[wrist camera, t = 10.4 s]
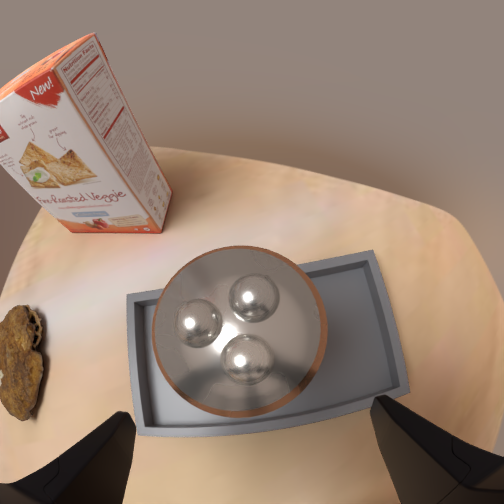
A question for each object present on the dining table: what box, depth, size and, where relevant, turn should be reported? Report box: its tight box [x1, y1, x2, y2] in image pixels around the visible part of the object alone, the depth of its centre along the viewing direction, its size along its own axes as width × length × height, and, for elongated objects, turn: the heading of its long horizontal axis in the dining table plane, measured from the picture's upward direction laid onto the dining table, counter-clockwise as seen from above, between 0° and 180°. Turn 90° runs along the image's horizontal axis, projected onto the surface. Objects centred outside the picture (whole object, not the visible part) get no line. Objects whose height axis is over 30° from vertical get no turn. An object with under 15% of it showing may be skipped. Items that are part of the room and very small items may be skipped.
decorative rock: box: [0, 305, 43, 421], centre depth 21 cm, size 11×4×15 cm
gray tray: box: [127, 250, 410, 437], centre depth 21 cm, size 13×22×2 cm, turn 99°
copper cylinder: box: [152, 246, 328, 418], centre depth 15 cm, size 6×6×14 cm
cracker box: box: [0, 33, 172, 233], centre depth 20 cm, size 14×6×21 cm, turn 85°
